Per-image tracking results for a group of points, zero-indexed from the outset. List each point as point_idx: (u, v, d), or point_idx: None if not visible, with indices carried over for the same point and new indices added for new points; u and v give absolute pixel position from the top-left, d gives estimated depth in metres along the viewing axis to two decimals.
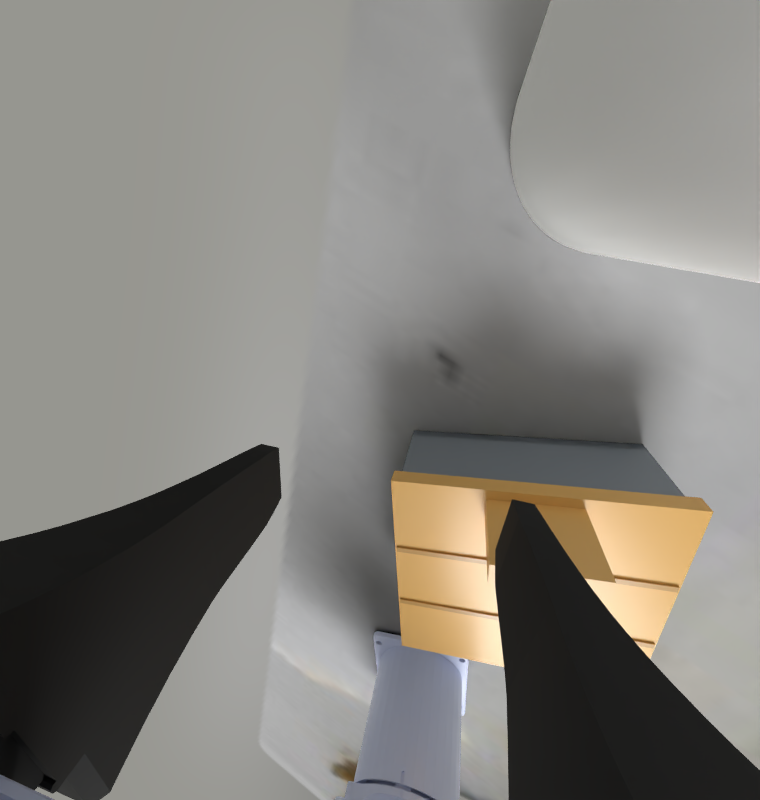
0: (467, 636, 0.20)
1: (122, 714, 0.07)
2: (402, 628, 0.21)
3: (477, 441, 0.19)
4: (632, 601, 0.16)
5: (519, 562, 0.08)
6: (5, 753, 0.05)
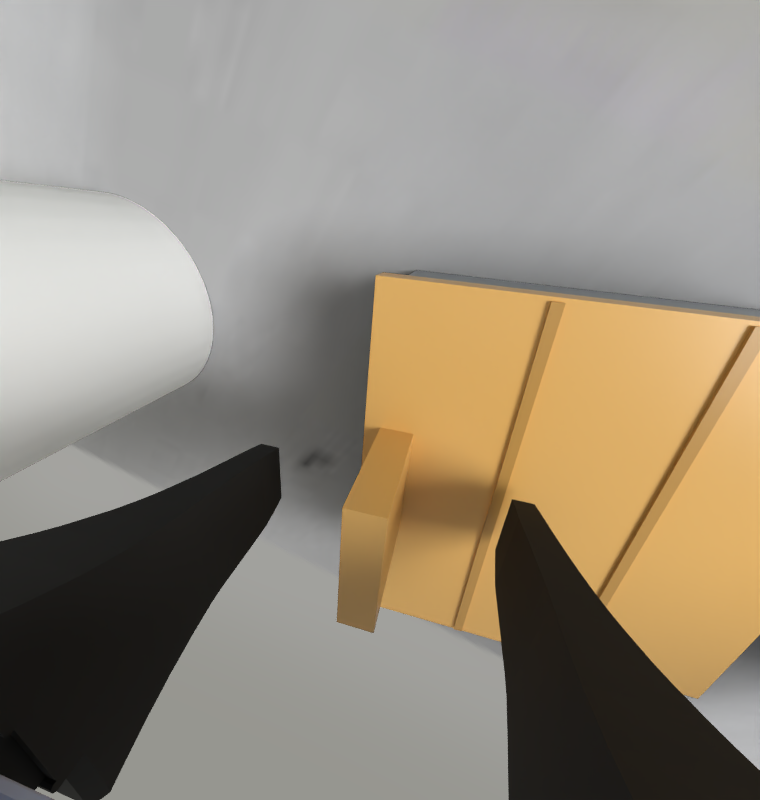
0: (681, 612, 0.11)
1: (122, 714, 0.07)
2: None
3: None
4: (595, 370, 0.08)
5: (519, 562, 0.08)
6: (5, 753, 0.05)
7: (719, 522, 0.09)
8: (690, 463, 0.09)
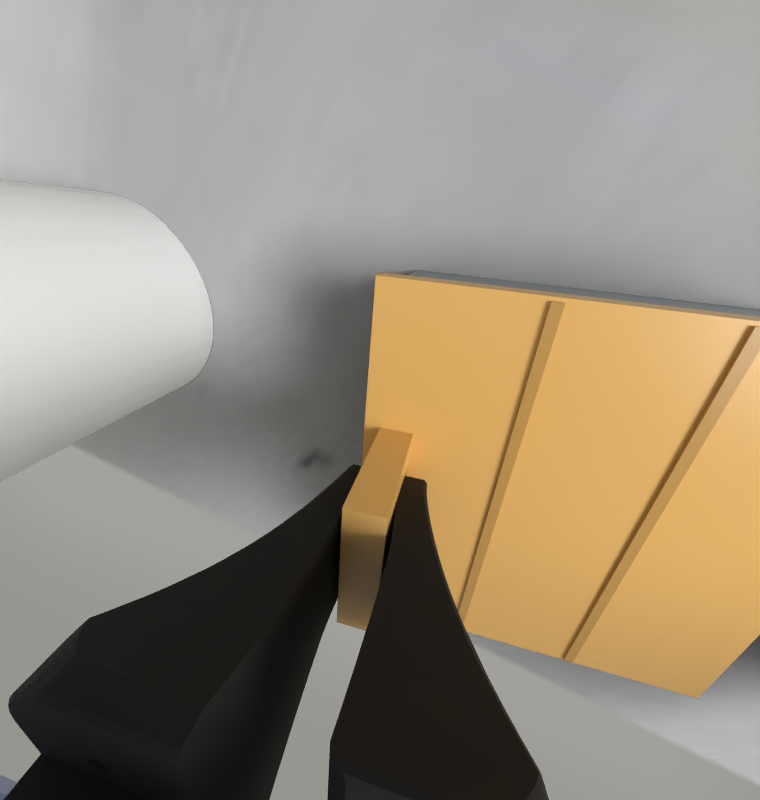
0: (681, 612, 0.11)
1: (267, 771, 0.06)
2: (645, 681, 0.12)
3: None
4: (595, 370, 0.08)
5: None
6: None
7: (719, 522, 0.09)
8: (690, 463, 0.09)
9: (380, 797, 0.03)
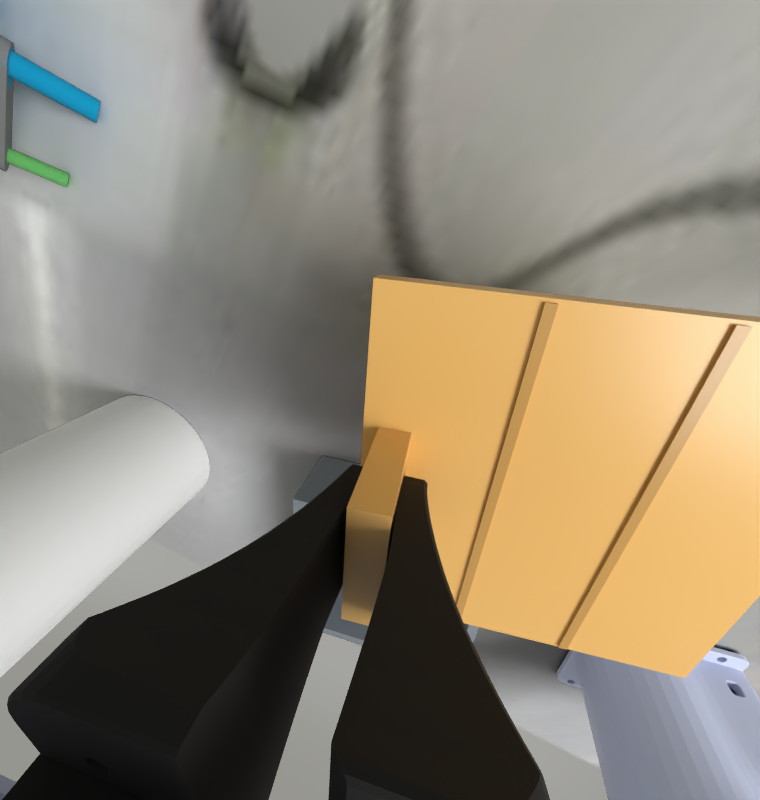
0: (668, 596, 0.11)
1: (266, 771, 0.06)
2: (635, 664, 0.13)
3: None
4: (586, 368, 0.09)
5: None
6: None
7: (704, 510, 0.10)
8: (677, 455, 0.09)
9: (381, 798, 0.03)
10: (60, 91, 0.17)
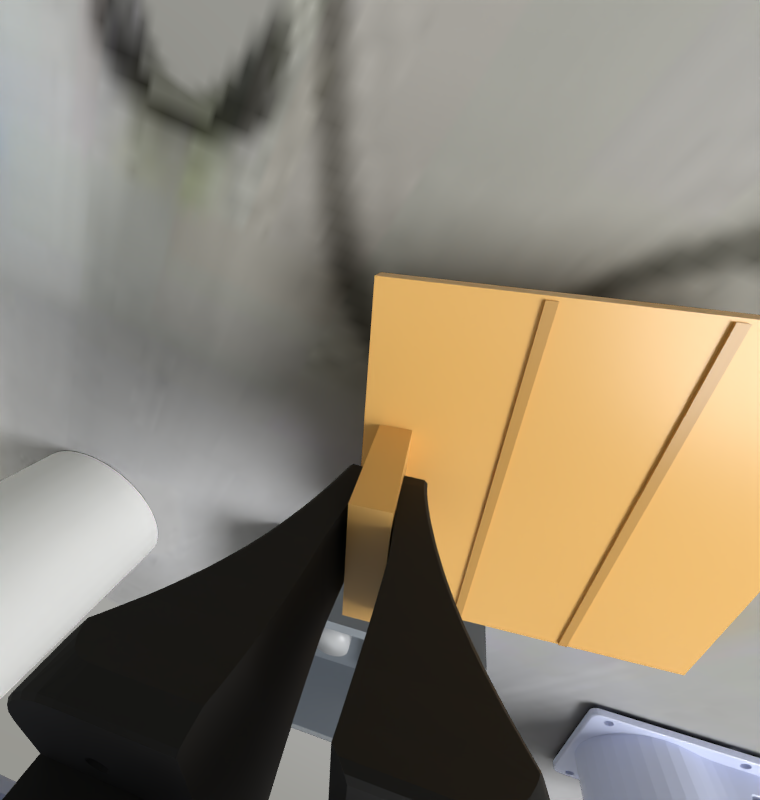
0: (668, 594, 0.11)
1: (266, 771, 0.06)
2: (635, 661, 0.13)
3: None
4: (586, 365, 0.09)
5: None
6: None
7: (703, 507, 0.10)
8: (676, 452, 0.09)
9: (381, 797, 0.03)
10: None
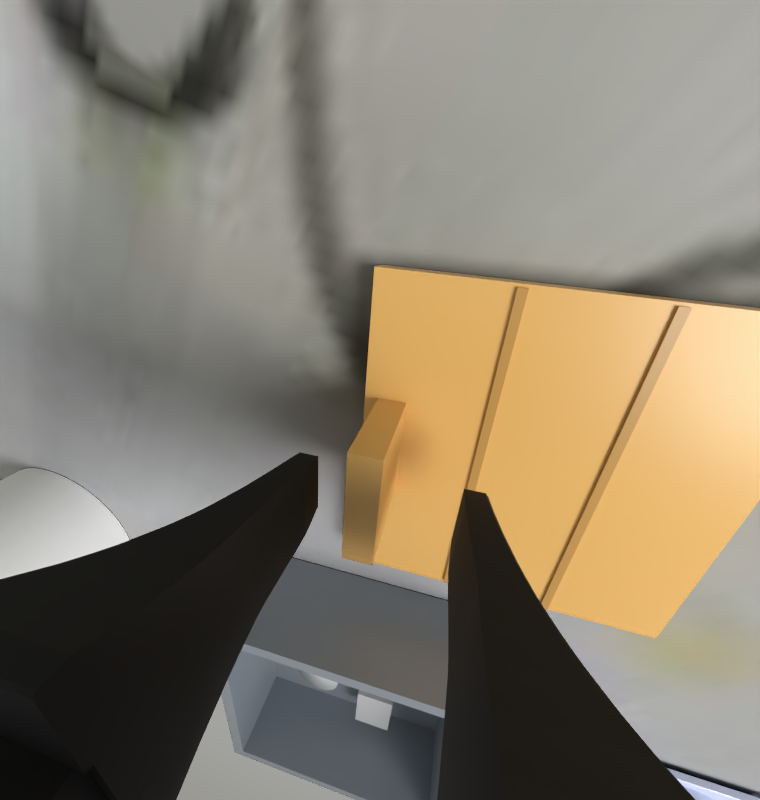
0: (636, 557, 0.12)
1: (182, 737, 0.06)
2: (610, 624, 0.14)
3: None
4: (555, 344, 0.10)
5: (462, 548, 0.08)
6: (82, 787, 0.05)
7: (662, 474, 0.11)
8: (636, 423, 0.10)
9: None
10: None
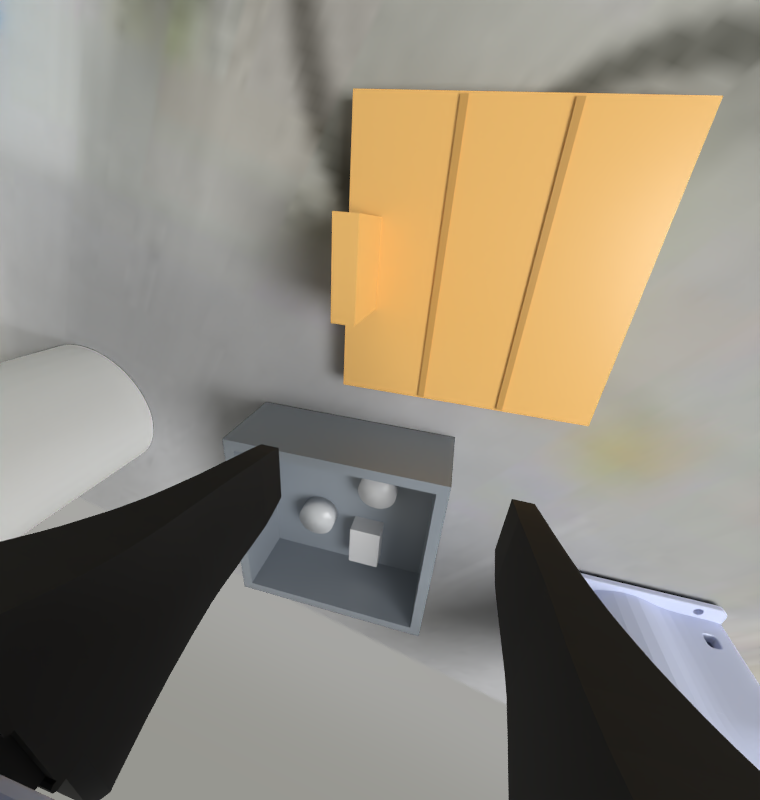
0: (567, 343, 0.16)
1: (122, 714, 0.07)
2: (552, 417, 0.17)
3: None
4: (491, 144, 0.13)
5: (519, 562, 0.08)
6: (5, 753, 0.05)
7: (579, 257, 0.14)
8: (555, 209, 0.14)
9: None
10: None
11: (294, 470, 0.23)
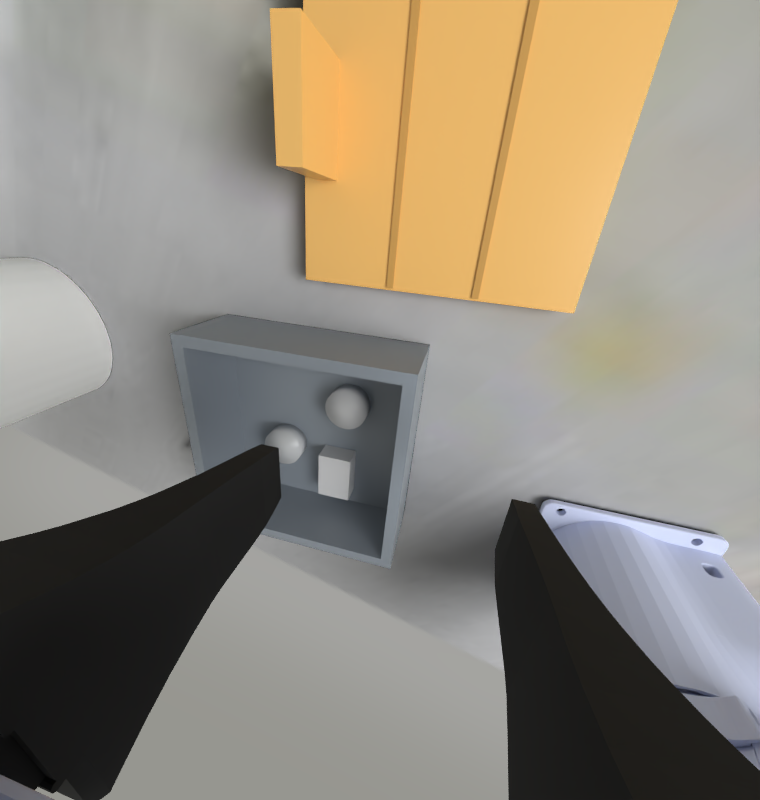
0: (549, 208, 0.14)
1: (122, 714, 0.07)
2: (534, 305, 0.15)
3: None
4: None
5: (519, 562, 0.08)
6: (6, 753, 0.05)
7: (561, 93, 0.12)
8: (533, 31, 0.12)
9: None
10: None
11: (259, 393, 0.22)
